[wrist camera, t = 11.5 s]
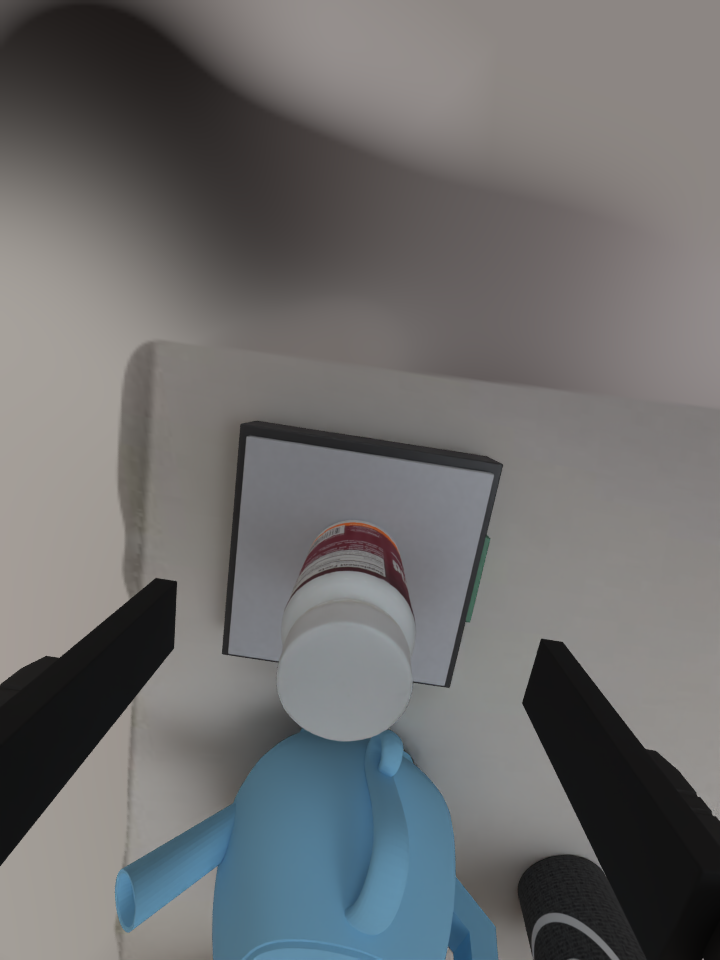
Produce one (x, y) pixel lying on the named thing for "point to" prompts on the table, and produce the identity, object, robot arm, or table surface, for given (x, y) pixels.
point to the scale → (366, 497)
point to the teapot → (323, 861)
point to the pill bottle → (348, 636)
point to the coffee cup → (574, 913)
